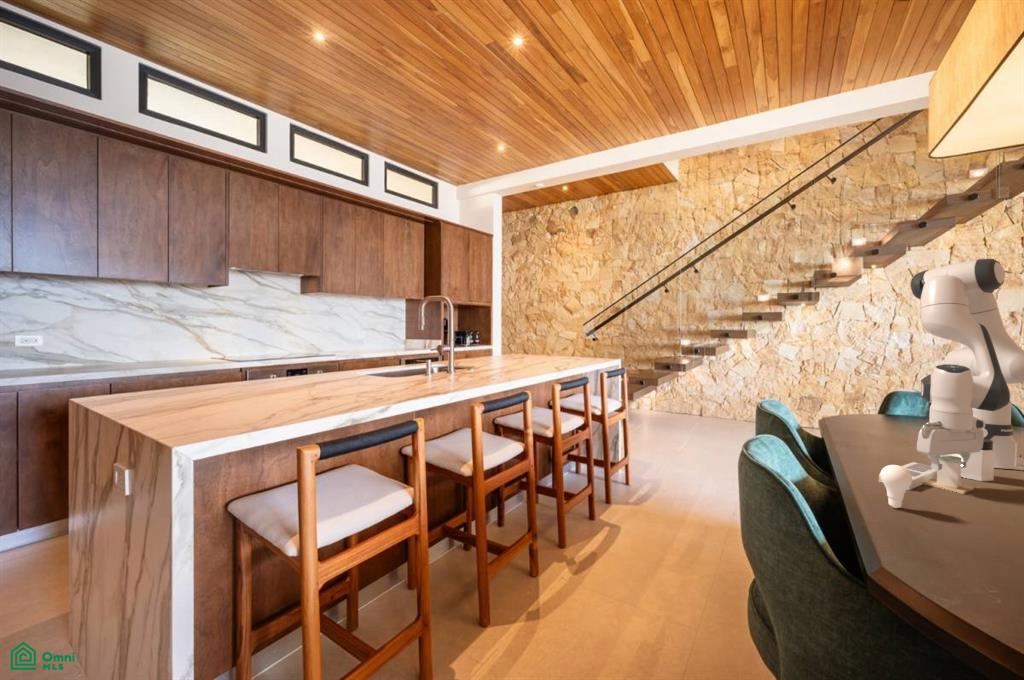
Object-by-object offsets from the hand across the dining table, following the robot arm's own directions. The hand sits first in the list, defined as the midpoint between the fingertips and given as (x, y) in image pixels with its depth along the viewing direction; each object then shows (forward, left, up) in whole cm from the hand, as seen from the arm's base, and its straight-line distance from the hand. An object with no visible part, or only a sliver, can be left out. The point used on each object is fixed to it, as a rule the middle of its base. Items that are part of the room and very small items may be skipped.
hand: (948, 468), depth 125 cm
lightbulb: (+33, -1, -6) cm, 34 cm away
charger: (0, 0, -5) cm, 5 cm away
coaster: (0, 0, -5) cm, 5 cm away
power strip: (0, -8, -5) cm, 9 cm away
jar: (-18, 0, -6) cm, 19 cm away
